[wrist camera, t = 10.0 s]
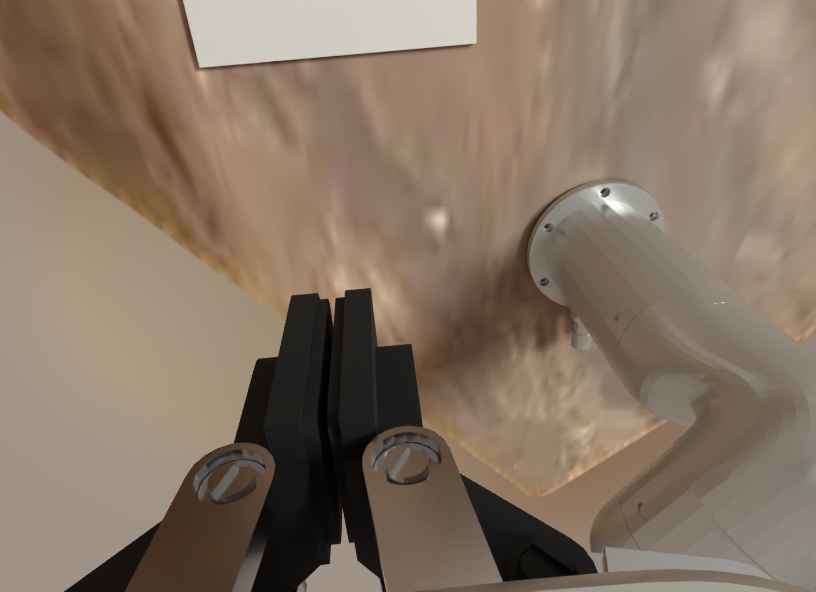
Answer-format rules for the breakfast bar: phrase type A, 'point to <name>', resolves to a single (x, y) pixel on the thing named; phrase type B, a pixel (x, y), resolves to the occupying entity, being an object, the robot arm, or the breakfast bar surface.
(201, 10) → the mat
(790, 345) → the robot arm
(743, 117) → the breakfast bar surface
